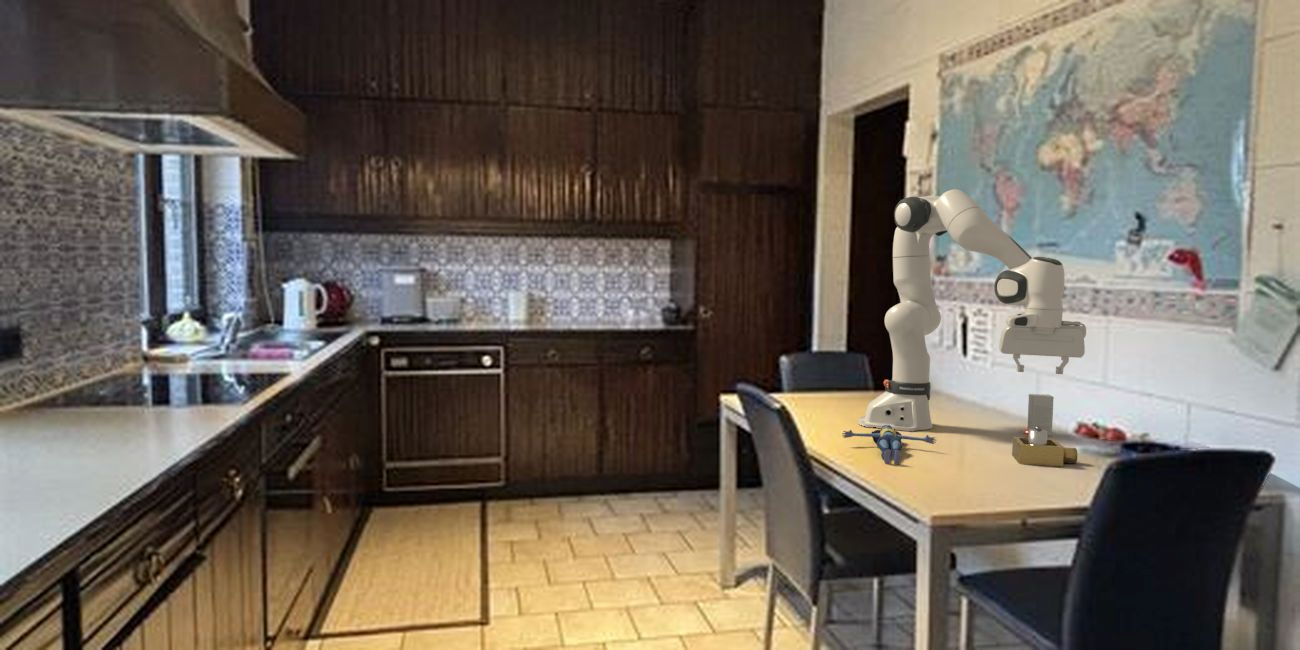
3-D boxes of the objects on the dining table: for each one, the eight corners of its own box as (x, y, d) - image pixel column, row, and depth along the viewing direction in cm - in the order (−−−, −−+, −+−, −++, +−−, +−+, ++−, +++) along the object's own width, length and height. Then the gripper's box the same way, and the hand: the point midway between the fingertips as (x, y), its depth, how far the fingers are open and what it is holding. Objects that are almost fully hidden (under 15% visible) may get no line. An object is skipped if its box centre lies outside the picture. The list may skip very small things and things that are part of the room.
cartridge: (1028, 462, 222) (1030, 427, 222) (1024, 458, 227) (1026, 424, 226) (1048, 463, 221) (1050, 429, 221) (1044, 459, 226) (1046, 425, 225)
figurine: (893, 466, 216) (894, 445, 215) (828, 446, 238) (829, 427, 238) (955, 458, 225) (956, 438, 225) (887, 440, 248) (888, 421, 248)
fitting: (1019, 463, 220) (1020, 439, 220) (1008, 451, 235) (1010, 428, 235) (1080, 468, 217) (1081, 443, 216) (1065, 454, 232) (1067, 431, 231)
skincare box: (1046, 433, 262) (1049, 394, 261) (1052, 436, 258) (1054, 396, 257) (1026, 432, 262) (1028, 393, 262) (1031, 435, 258) (1033, 395, 257)
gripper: (1083, 321, 223) (1080, 373, 224) (999, 317, 228) (996, 369, 229) (1090, 322, 217) (1086, 376, 218) (1003, 319, 222) (1000, 372, 223)
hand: (1039, 372), depth 224 cm, fingers open, 8 cm apart
